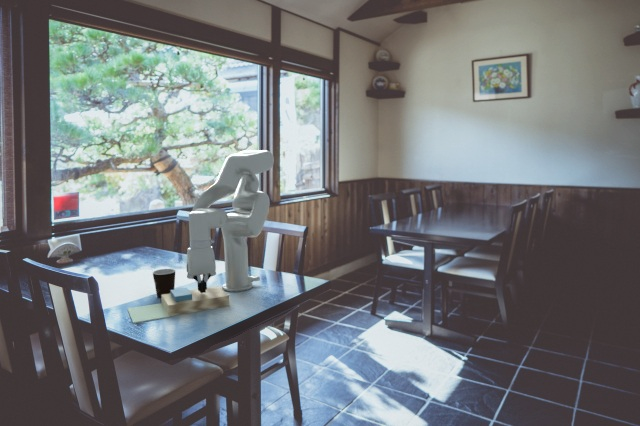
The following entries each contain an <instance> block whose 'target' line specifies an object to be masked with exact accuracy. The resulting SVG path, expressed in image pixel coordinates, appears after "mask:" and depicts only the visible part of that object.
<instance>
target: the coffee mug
mask: <svg viewBox="0 0 640 426" xmlns="http://www.w3.org/2000/svg"><path fill="white" fill-rule="evenodd" d="M152 276H153V282H154V287H155V293H156V296H157V298H158V299H161V295H163V294H169V293H171V292H170V290H175V284H176V270H175V269H174V268H162V269H160V268H159V269H156V270H154V271H152Z"/></svg>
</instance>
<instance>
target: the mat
mask: <svg viewBox="0 0 640 426" xmlns="http://www.w3.org/2000/svg"><path fill="white" fill-rule="evenodd" d="M127 312H128V314H129V316H130V319H131V321H132V324H139V323H145V322H149V321H151V322H152V321H156V320H162V319H168V318H170V317H171V316H169V315H168V313H167V311H166V310H165V308H164V307H163V305H162V302H161V303H155V304H154V303H153V304H148V305H142V306H134V307H128V308H127Z"/></svg>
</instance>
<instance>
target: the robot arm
mask: <svg viewBox="0 0 640 426" xmlns="http://www.w3.org/2000/svg"><path fill="white" fill-rule="evenodd" d="M274 163H275V158H274V155H273V153H272V152H271V151H269V150H267V149H262V150H261V149H260V150H259V149H258V150H257V149H254V150H252V149H249V150H247V149H246V150H241V151H239V152H238V153H233V154H230V155H228V156H227V157H226V158H225V160H224V163H223V164H222V167H221V169H220V172H219V173H218V176H217V178H216V180H215V182H214V184H212V185H211V186H209V187H208V188H207V189H205V190H204V191H203V192H202V193H201V194H200V195H199V196H198V198H197V199H196V201H195V203H194V205H193V207H192V210H191V211H190V212H189V214H188V230H189V233H188V234H189V247H188V248H187V252H186V272H187V273H186V274H187V275H186V278H187V279H188V280H194V281H196V282H197V289H198V291H200V292H201V293H203V292H204V293H206V290H207V288H208V285H207V284H208V280H209V279H210V278H211V277H213V276H214V277H215V276H216V275H217V272H216V269H217V265H216V258H215V257H216V256H215V252H214V248H213V246H212V244H215V239H212V238H211V230H212V229H220V228H221V229H220V230H221V234H222V238H223V248H224V249H223V250H224V271H225V273H224V274H225V283H223V284H222V286H221V289H222V290H223V291H225V292H235V293H236V292H243V291H244V292H245V291H249V290H250V289H252V288H253V282H258V281H259V282H260V281H261V280H260V279H261V277H260V276H259V275H258V276H255V275H251V276H250V275H249V255H248V253H249V252H248V251H249V250H248V243H247V241H246V239H245V238H257V237H258V236H259V235H260V234H261V233H262V231H263V228H264V227H265V223H266V219H267V217H268V213H269V211H270V205H271V204H270V203H271V202H270V196H269V195H268V193H266V192H264V191H261V190H259V188H260V181H259V178H258V176H257V175H258V174H259V175H260V174H262V173H265V172H267V171H270V170H271V169H272V168H273V166H274ZM233 194H234V197H233V198H232V199H233V200H232V205H231V206H232V209H233V210H234V211H235V212H229V213H227V212H226V211H225V210H224V209H221V208H217V207H216V208H213V207H211V206H212V205H213V204H214V203H216V202H218V201H220V200H222V199H225V198H227V197H229V196H231V195H233ZM201 276H202V278H201Z"/></svg>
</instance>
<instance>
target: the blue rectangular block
mask: <svg viewBox="0 0 640 426" xmlns="http://www.w3.org/2000/svg"><path fill="white" fill-rule="evenodd" d="M170 292H171V296H172V298H173V299H174V301H175V302H179V301H185V300H192V293H191V292H190V291H189V289H188V287H182V288H177V289H176V288H174V290H170Z"/></svg>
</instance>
